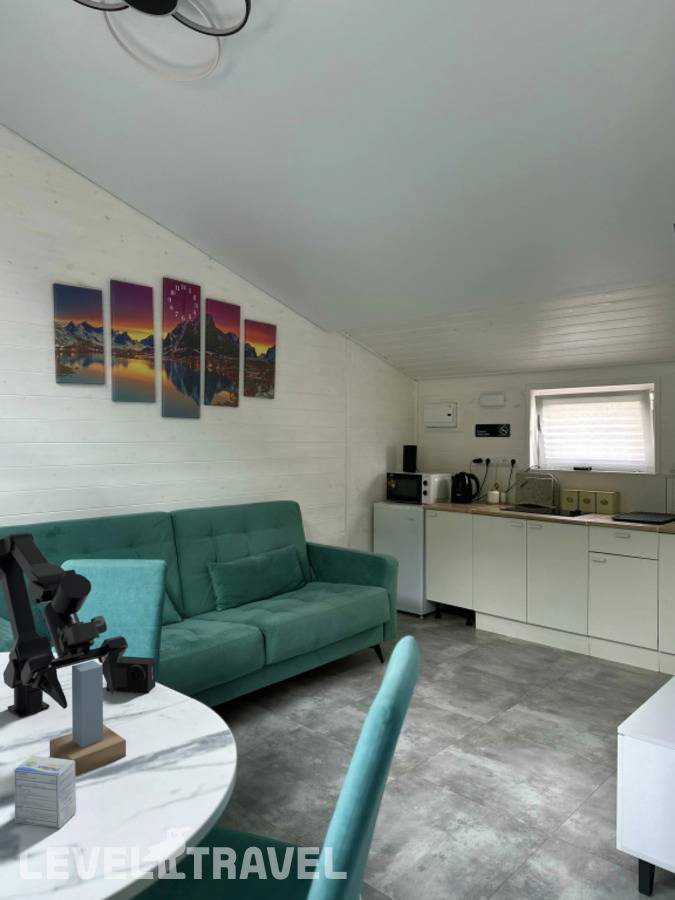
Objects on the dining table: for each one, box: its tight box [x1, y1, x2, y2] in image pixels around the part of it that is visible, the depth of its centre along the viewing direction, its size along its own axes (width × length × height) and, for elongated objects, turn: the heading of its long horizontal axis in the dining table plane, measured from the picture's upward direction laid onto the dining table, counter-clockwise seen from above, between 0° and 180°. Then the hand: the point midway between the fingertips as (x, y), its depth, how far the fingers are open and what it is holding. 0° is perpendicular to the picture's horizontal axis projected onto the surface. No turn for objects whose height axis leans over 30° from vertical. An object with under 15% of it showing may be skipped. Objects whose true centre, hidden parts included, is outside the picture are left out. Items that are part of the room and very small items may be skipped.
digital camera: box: [106, 655, 156, 694], centre depth 149 cm, size 10×5×7 cm, turn 82°
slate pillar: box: [71, 660, 104, 748], centre depth 118 cm, size 4×4×14 cm
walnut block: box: [49, 724, 127, 777], centre depth 119 cm, size 10×10×3 cm
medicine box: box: [13, 755, 77, 829], centre depth 99 cm, size 8×4×9 cm, turn 79°
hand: (90, 699), depth 117 cm, fingers open, 9 cm apart
